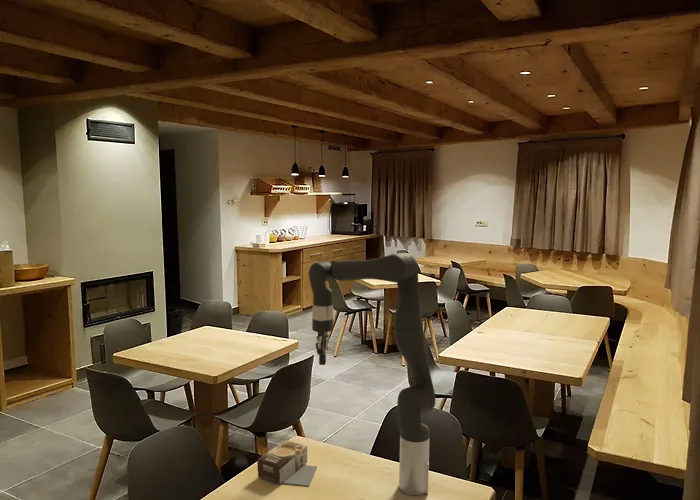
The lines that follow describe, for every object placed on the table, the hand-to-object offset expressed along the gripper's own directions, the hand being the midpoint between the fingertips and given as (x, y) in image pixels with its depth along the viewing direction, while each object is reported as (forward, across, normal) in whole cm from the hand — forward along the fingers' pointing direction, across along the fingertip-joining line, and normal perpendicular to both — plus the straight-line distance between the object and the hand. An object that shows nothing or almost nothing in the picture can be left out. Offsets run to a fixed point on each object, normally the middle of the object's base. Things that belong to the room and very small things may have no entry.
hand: (322, 364), depth 188 cm
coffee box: (+28, +10, -7) cm, 31 cm away
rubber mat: (+32, +19, -6) cm, 38 cm away
